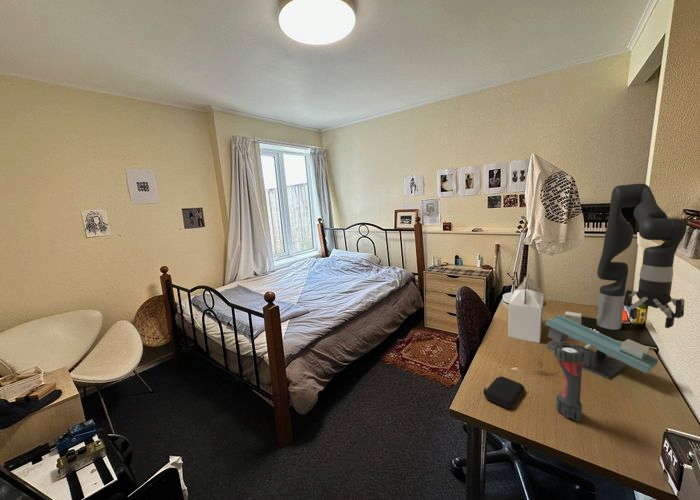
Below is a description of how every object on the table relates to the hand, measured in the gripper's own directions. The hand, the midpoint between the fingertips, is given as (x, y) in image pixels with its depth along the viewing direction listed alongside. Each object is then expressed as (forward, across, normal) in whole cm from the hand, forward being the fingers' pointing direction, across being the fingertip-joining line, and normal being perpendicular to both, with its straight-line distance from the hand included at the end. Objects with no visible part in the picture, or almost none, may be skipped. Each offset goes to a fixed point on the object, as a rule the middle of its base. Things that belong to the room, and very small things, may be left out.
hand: (650, 322), depth 99 cm
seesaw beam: (+21, +16, -1) cm, 26 cm away
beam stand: (+24, +19, -1) cm, 31 cm away
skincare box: (+24, +31, -16) cm, 42 cm away
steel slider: (+15, +4, -1) cm, 16 cm away
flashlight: (+24, +6, +36) cm, 44 cm away
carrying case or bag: (+25, +22, +45) cm, 56 cm away
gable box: (+24, +47, -5) cm, 53 cm away
